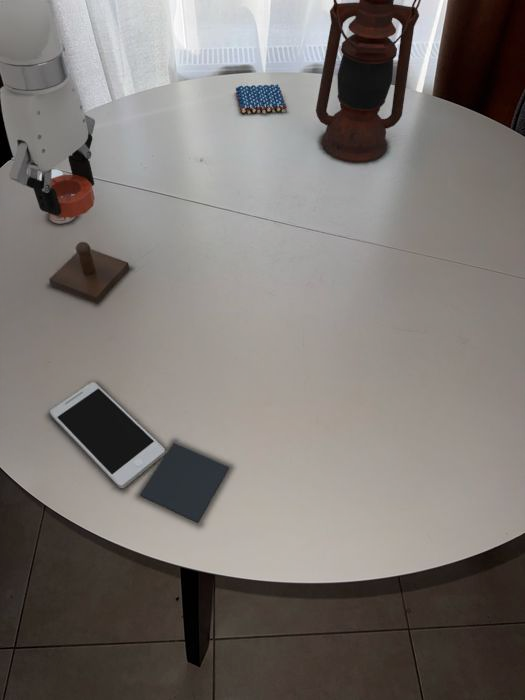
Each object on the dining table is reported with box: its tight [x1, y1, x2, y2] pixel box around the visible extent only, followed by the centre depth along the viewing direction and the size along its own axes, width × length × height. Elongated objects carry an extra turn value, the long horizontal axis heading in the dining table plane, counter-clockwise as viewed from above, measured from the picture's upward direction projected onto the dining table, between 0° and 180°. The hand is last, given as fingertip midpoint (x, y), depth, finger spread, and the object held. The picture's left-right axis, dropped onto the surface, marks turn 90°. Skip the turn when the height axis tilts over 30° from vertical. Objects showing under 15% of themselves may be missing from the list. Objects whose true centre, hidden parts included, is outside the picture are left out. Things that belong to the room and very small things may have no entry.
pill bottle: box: [38, 168, 76, 225], centre depth 101 cm, size 5×5×8 cm
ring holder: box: [48, 241, 131, 305], centre depth 92 cm, size 9×9×7 cm
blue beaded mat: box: [235, 83, 287, 115], centre depth 132 cm, size 10×11×2 cm
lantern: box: [315, 0, 422, 164], centre depth 111 cm, size 17×14×30 cm
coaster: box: [139, 442, 230, 523], centre depth 71 cm, size 8×8×1 cm
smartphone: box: [49, 381, 166, 489], centre depth 75 cm, size 7×15×1 cm, turn 46°
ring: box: [48, 174, 96, 218], centre depth 81 cm, size 7×7×2 cm
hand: (68, 196), depth 81 cm, fingers closed on ring, 6 cm apart
